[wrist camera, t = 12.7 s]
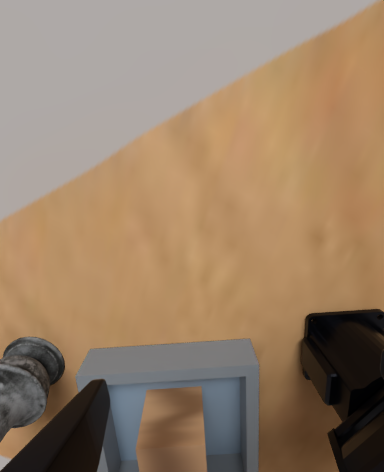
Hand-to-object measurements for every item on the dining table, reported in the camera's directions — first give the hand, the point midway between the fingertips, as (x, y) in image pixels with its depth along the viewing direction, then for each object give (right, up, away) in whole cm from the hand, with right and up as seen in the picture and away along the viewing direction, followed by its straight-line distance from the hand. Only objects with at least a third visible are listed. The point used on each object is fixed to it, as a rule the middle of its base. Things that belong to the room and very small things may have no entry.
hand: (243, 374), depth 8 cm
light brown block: (-3, -12, +15) cm, 20 cm away
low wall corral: (-3, -12, +16) cm, 20 cm away
